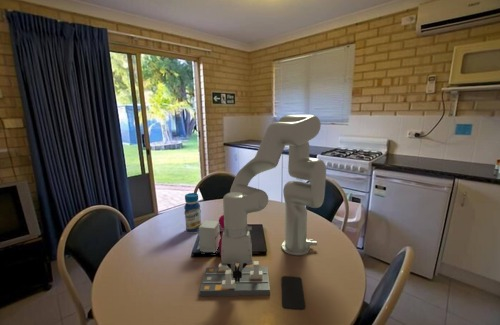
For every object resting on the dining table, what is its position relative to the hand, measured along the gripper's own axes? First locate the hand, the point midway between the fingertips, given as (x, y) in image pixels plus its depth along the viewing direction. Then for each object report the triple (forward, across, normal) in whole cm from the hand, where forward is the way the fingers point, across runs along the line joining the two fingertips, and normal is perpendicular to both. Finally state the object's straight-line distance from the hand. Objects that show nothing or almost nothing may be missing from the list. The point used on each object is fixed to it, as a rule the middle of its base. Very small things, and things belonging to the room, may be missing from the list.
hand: (237, 279), depth 82 cm
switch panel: (+5, +1, -5) cm, 7 cm away
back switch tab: (+3, +5, -10) cm, 11 cm away
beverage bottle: (+5, +26, -46) cm, 53 cm away
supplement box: (+5, +14, -28) cm, 31 cm away
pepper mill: (+5, +6, -23) cm, 25 cm away
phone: (+6, -19, 0) cm, 20 cm away
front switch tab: (+3, +3, 0) cm, 4 cm away
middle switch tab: (+3, -7, -5) cm, 9 cm away
